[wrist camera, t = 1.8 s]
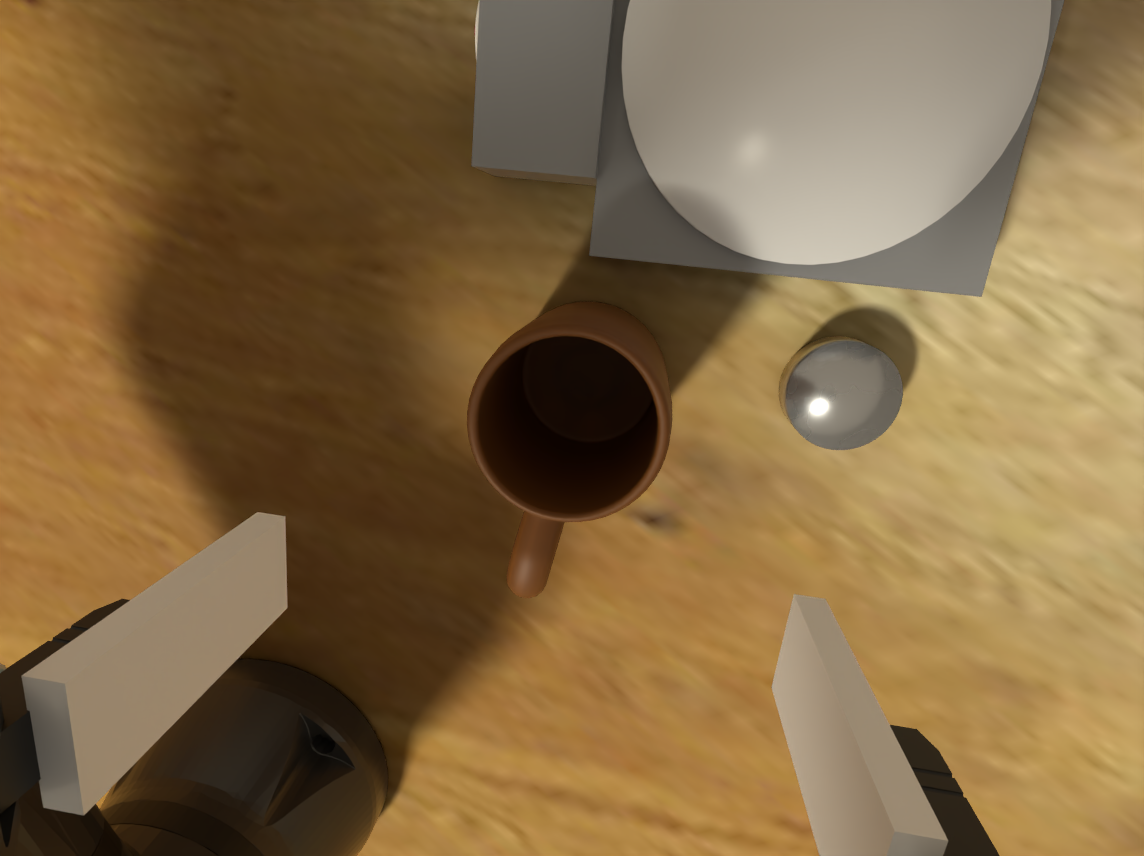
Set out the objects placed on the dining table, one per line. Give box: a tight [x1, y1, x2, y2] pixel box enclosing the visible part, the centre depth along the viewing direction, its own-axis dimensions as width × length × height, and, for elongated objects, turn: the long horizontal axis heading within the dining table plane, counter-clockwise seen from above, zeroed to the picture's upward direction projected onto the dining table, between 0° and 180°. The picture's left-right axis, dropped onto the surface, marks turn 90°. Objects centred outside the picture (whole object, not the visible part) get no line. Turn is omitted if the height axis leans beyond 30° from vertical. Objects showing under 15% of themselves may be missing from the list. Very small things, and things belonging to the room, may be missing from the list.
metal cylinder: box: [779, 336, 903, 450], centre depth 30 cm, size 5×5×2 cm
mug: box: [467, 301, 672, 598], centre depth 28 cm, size 12×8×9 cm, turn 165°
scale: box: [472, 0, 1064, 297], centre depth 25 cm, size 21×16×4 cm
